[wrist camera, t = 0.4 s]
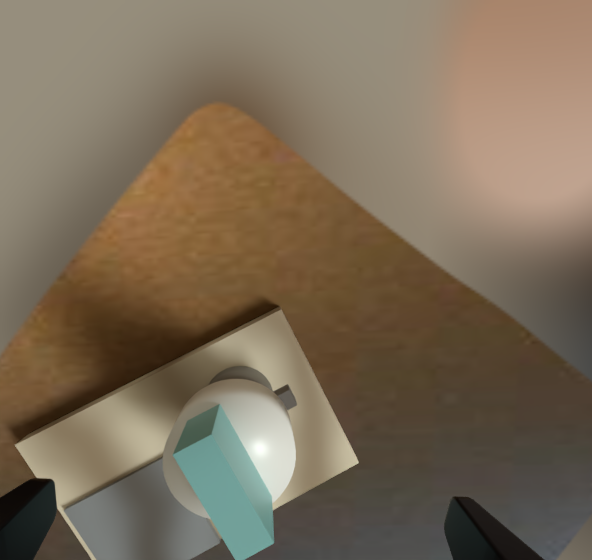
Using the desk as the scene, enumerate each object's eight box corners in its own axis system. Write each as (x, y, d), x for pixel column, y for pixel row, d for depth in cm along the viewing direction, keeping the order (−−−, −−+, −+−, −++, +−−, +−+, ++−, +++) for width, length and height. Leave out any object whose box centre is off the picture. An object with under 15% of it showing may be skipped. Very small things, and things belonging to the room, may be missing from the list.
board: (124, 577, 22) (82, 677, 17) (29, 433, 20) (-50, 495, 15) (353, 451, 23) (380, 509, 18) (280, 306, 21) (286, 323, 16)
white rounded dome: (209, 508, 17) (191, 600, 12) (152, 413, 16) (111, 474, 12) (310, 454, 17) (327, 523, 13) (259, 358, 16) (259, 397, 12)
